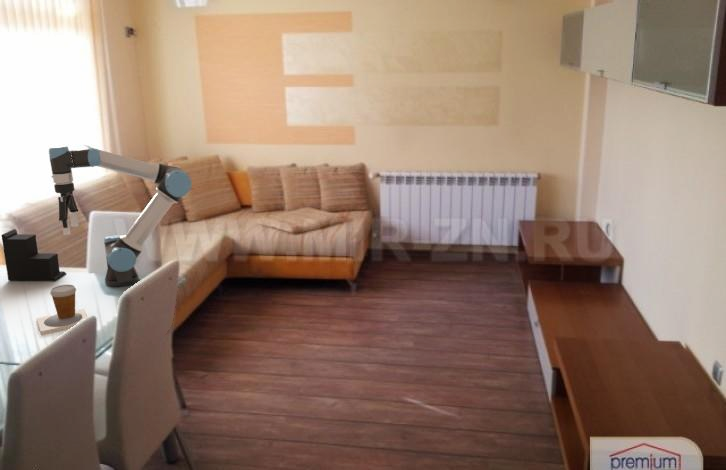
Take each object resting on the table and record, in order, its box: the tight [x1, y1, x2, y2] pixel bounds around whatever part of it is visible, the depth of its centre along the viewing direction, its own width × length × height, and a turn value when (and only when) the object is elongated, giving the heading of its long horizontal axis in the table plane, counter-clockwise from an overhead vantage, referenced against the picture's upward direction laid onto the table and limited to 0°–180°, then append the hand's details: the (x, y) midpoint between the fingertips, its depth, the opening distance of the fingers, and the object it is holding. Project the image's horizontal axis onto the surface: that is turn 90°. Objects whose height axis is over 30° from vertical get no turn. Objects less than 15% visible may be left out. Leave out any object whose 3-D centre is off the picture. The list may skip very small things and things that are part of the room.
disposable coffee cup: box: [49, 284, 77, 319], centre depth 243 cm, size 10×10×12 cm
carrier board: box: [35, 308, 89, 335], centre depth 242 cm, size 18×15×2 cm
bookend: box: [1, 228, 67, 282], centre depth 291 cm, size 23×11×24 cm, turn 90°
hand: (71, 230), depth 261 cm, fingers open, 13 cm apart
